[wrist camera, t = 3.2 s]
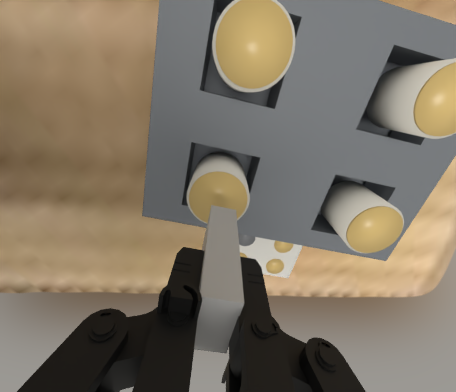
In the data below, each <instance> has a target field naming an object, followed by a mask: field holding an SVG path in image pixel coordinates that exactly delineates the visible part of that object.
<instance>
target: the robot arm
mask: <svg viewBox="0 0 456 392" xmlns="http://www.w3.org/2000/svg"><path fill="white" fill-rule="evenodd" d="M264 284H265V283H264V278H263V273H262V268H261V266H260V265H259V263H258V262H257V260H256V259H252V258H246V257H241V256H240V248H239V237H238V226H237V214H236V210H234V209H229V208H224V207H219V206H214V205H211V209H210V214H209V219H208V223H207V228H206V232H205V237H204V241H203V247H202V250H197V249H192V248H186V247H183V248H182V249H181V250H180V251H179V252H178V253H177V255H176V259H175V262H174V265H173V268H172V272H171V275H170V278H169V281H168V285H167V286H166V287H164V288H163V290H162V291H161V293H160V295H159V302H158V307H157V308H156V309H154V310H153V311H151V312H149V313H147V314H143V315H138V316H132V317H126V315H125V314H124V313H123V312H121V311H120V310H116V309H104V310H100V311H98V312H95V313H93V314H91V315H90V316H89V317H87V318H86V319H85V320H84V321H83V322H82V323H81V324H80V325H79V326H78V327H77V328H76V329H75V330H74V331H73V332H72V333H71V335H69V337H68V338H67V339H66V340H65V341H64V342H63V343H62V344H61V345H60V346H59V347H58V348H57V350H56V351H55V352H54V353H53V354H52V355H51V356H50V357H49V358H48V359H47V360H46V361H45V362H44V363H43V364H42V365H41V366H40V368H39V369H38V370H37V371H36V372H35V373H34V374H33V375H32V376H31V377H30V378H29V379H28V380H27V381H26V382H25V383H24V385H23V386H22V387H21V388H20V389H19V390H18V391H17V392H119V391H120V390H122V389H126V388H130V387H133V386H134V388H133V391H132V392H189V385H190V377H191V370H192V361H193V352H194V349H197V350H205V351H212V352H220V353H227V350H228V347H229V361H228V363H227V366H226V369H225V371H224V374H223V377H222V383H225V381H226V392H365V390H364V388H363V387H362V385H361V384H360V382H359V381H358V379H357V377H356V376H355V374H354V373H353V371H352V370H351V368H350V367H349V365H348V363H347V362H346V360H345V359H344V357H343V356H342V354H341V353H340V352H339V351H338V349H337V348H336V347H335V346H333V345H332V344H331V343H330V342H328V341H326V340H324V339H322V338H312V339H309V340H308V342H307V343H304V342H302V341H300V340H297V339H295V338H293V337H291V336H289V335H288V334H286V333H284V332H283V331H282V330H281V329H280V327H279V324H278V323H277V322H276V320H275V319H274V318H273V317H272V316H271V312H270V307H269V303H268V298H267V293H266V288H265V285H264Z"/></svg>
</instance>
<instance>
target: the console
mask: <svg viewBox="0 0 456 392" xmlns="http://www.w3.org/2000/svg"><path fill="white" fill-rule="evenodd" d="M232 1H234V0H160V1H159V13H158V26H157V38H156V51H155V63H154V76H153V88H152V101H151V113H150V126H149V138H148V151H147V163H146V176H145V188H144V201H143V213H142V216H145V217H151V218H156V219H161V220H167V221H172V222H178V223H183V224H188V225H194V226H199V227H205V228H207V224H206V223H204V222H202V221H200V220H199V219H197V218H196V217H195V216H194V215H193V214H192V212H191V211H190V209H189V207H188V204H187V190H188V187H189V185H190V182H191V179H192V177H193V174H194V171H195V169H196V166H197V164H198V163H199V161H200V160H201V159H202V158H203V157H205V156H206V155H208V154H210V153H214V152H225V153H228V154H231V155H233V156H234V157H235V158H237V159H238V160H239V162H240V163H241V164H242V166H243V169H244V173H245V177H246V181H247V185H248V189H249V193H250V202H249V206H248V209H247V210H246V212H245V213H244V215H243V216H242V217H241V218H240V219H238V220H237V226H238V234H243V235H248V236H254V237H259V238H264V239H270V240H275V241H281V242H286V243H291V244H297V245H302V246H308V247H313V248H319V249H324V250H329V251H335V252H340V253H346V254H351V255H357V256H362V257H367V258H373V259H378V260H384V261H386V260H387V259H388V257H389V256H390V254H391V253H392V251H393V250H394V248H395V247H396V245H397V243H398V242H399V240H400V239H401V237H402V236H403V234H404V233H405V231H406V230H407V228H408V227H409V225H410V224H411V222H412V221H413V219H414V218H415V216H416V215H417V213H418V212H419V210H420V209H421V207H422V206H423V204H424V203H425V201H426V200H427V198H428V196H429V195H430V193H431V192H432V190H433V189H434V187H435V186H436V184H437V183H438V181H439V180H440V178H441V177H442V175H443V174H444V172H445V171H446V169H447V168H448V166H449V165H450V163H451V162H452V160H453V159H454V157H455V156H456V133H455V134H453V135H451V136H448V137H445V138H440V139H430V138H425V137H421V136H416V135H412V134H407V133H403V132H398V131H394V130H389V129H385V128H380V127H378V126H376V125H374V124H373V123H372V122H371V121H370V119H369V118H368V115H367V111H366V106H367V104H368V102H369V99H370V97H371V95H372V93H373V91H374V88H375V86H376V84H377V82H378V79H379V78H380V77H381V76H382V75H383V74H384V73H386V72H387V71H389V70H391V69H393V68H396V67H401V66H407V65H414V64H420V63H427V62H434V61H440V60H447V59H454V58H456V25H454V24H451V23H448V22H445V21H442V20H438V19H435V18H432V17H429V16H426V15H423V14H420V13H416V12H413V11H410V10H407V9H404V8H401V7H398V6H395V5H391V4H388V3H385V2H382V1H379V0H277V1H278V2H279V3H281V4H282V5H283V7H284V8H285V9H286V10H287V12H288V14H289V16H290V18H291V20H292V23H293V26H294V30H295V51H294V55H293V59H292V61H291V64H290V66H289V68H288V70H287V71H286V73H285V74H284V76H283V77H282V78H281V79H280V80H279V81H278V82H277V83H276V84H274V85H273V86H272V87H270V88H268V89H266V90H263V91H259V92H238V91H235V90H233V89H231V88H230V87H228V86H227V85H226V84H225V83H224V82H223V80H222V79H221V77H220V75H219V73H218V70H217V67H216V64H215V61H214V57H213V50H212V40H213V33H214V29H215V26H216V23H217V21H218V19H219V17H220V15H221V14H222V12H223V11H224V9H225V8H226V7H227V6H228V5H229V4H230V3H231V2H232ZM344 181H355V182H358V183H360V184H362V185H363V186H365V187H366V188H368V189H369V190H371V191H372V192H374V193H375V194H377V195H378V196H380V197H381V198H383V199H384V200H386V201H387V202H389V203H390V204H392V205H393V206H395V207H396V208H398V209H399V210H400V211H401V213H402V215H403V218H404V226H403V230H402V232H401V234H400V236H399V237H398V238H397V240H396V241H395V242H394V243H393V244H391V245H390V246H389V247H387V248H385V249H383V250H381V251H378V252H373V253H359V252H355V251H353V250H351V249H350V248H349V247H348V246H347V245H346V243H345V242H344V241H343V240H342V239H341V237H340V236H339V235H338V234H337V232H336V231H335V230H334V229H333V227H332V226H331V225H330V224H329V222H328V221H327V220H326V219H325V217H324V216H323V215H322V213H321V209H320V208H321V206H322V204H323V202H324V199H325V197H326V195H327V193H328V190H329V189H330V188H331V187H332V186H334V185H335V184H337V183H340V182H344Z"/></svg>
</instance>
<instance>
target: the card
mask: <svg viewBox="0 0 456 392" xmlns="http://www.w3.org/2000/svg"><path fill="white" fill-rule="evenodd" d="M238 237H239V248H240V256H241V257H246V258H252V259H256V260H257V262H258V263H259V265H260V266H261V268H262V273H263V274H266V275H272V276H278V277H284V278H289V275H290V273H291V271H292V269H293V267H294V264H295V262H296V260H297V258H298V255H299V253H300V251H301V249H302V247H303V246H302V245H297V244H291V243H286V242H281V241H275V240H270V239H264V238H259V237H254V236H248V235H243V234H238Z"/></svg>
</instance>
